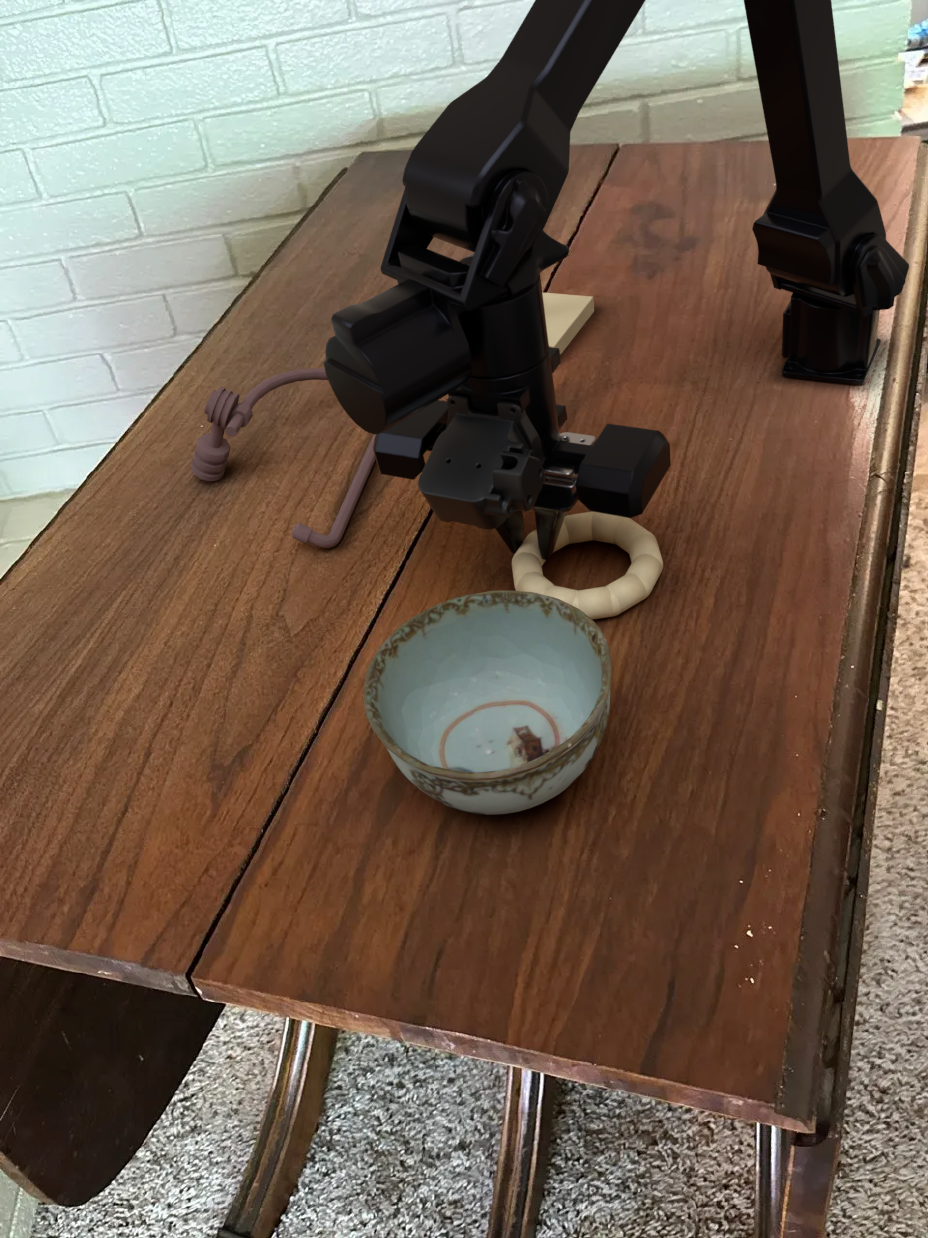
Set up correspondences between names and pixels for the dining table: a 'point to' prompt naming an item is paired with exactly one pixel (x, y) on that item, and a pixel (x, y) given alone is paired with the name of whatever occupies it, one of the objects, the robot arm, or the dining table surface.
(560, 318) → the peg stand
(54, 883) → the dining table surface
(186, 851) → the dining table surface
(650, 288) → the dining table surface
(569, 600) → the ring
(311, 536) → the toilet paper hanger
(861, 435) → the dining table surface
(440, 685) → the bowl
